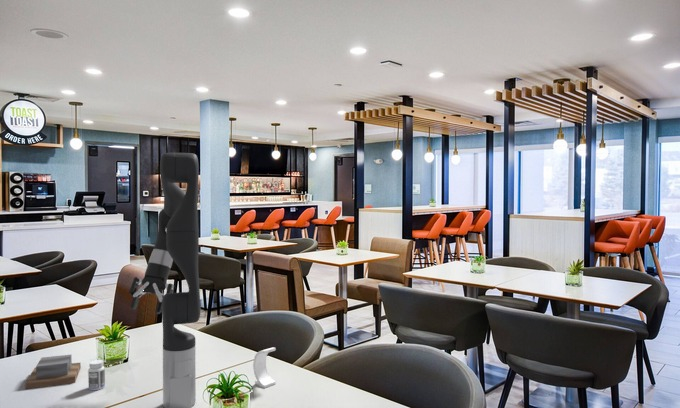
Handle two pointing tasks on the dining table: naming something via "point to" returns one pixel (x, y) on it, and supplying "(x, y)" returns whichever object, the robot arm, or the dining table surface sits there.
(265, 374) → the headphone stand
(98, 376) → the pill bottle
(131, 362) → the dining table surface
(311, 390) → the dining table surface
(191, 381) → the robot arm
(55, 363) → the pedestal
